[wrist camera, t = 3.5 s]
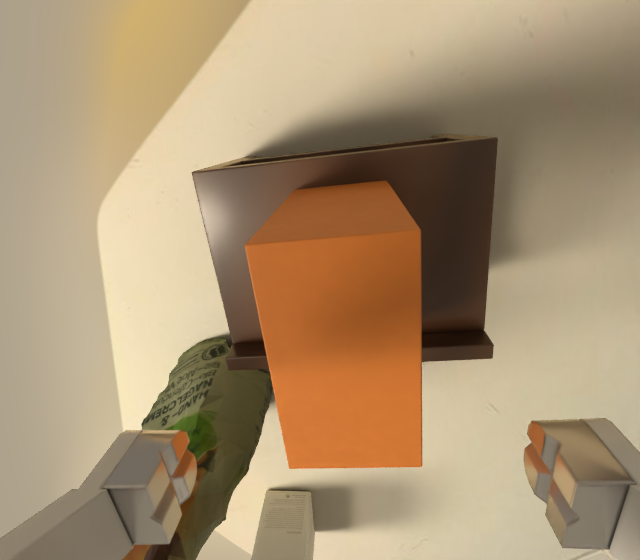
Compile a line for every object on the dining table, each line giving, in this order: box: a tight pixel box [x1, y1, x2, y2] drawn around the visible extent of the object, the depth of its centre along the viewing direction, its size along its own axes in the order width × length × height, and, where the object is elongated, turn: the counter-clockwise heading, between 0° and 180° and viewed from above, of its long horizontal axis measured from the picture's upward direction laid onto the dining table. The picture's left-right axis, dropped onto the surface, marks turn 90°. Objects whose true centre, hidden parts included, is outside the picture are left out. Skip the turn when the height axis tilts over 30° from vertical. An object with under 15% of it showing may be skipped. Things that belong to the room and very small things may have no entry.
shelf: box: [192, 134, 498, 371], centre depth 25 cm, size 16×12×12 cm
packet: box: [245, 180, 422, 469], centre depth 16 cm, size 5×9×10 cm, turn 6°
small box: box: [251, 490, 315, 560], centre depth 40 cm, size 8×6×10 cm
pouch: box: [122, 338, 273, 560], centre depth 26 cm, size 11×12×25 cm
